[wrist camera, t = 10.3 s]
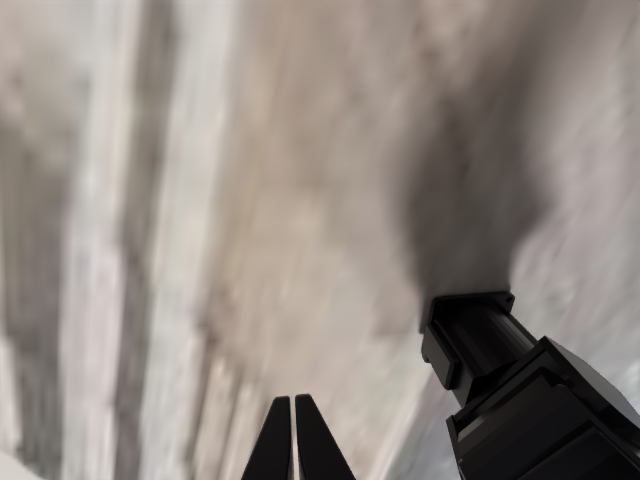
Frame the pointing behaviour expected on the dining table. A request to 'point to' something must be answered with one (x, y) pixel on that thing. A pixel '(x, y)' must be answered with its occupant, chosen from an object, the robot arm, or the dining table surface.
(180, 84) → the dining table surface
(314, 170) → the dining table surface
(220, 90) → the dining table surface
